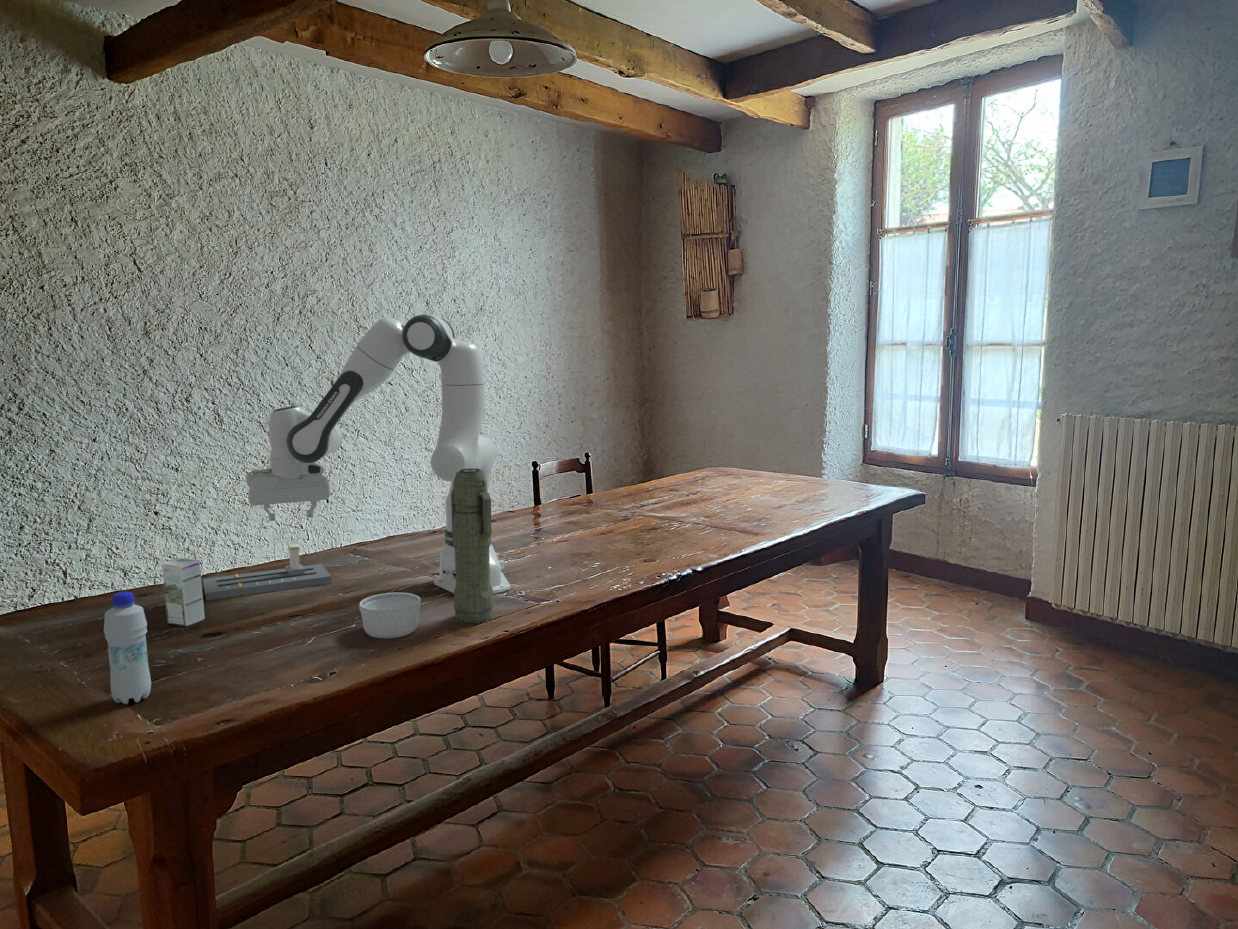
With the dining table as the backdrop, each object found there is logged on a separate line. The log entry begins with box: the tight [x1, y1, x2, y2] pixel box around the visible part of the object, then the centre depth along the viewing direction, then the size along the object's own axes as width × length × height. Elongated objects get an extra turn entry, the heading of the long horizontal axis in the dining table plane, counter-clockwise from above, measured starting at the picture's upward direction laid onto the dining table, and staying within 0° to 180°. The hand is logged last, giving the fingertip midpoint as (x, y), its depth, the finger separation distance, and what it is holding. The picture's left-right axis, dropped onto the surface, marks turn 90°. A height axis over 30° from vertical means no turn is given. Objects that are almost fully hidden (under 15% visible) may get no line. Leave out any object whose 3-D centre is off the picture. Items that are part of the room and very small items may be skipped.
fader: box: [285, 543, 305, 576], centre depth 222 cm, size 5×4×8 cm
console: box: [202, 563, 332, 601], centre depth 219 cm, size 14×30×2 cm, turn 119°
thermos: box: [451, 468, 494, 624], centre depth 191 cm, size 9×12×35 cm
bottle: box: [103, 591, 152, 705], centre depth 148 cm, size 7×7×20 cm
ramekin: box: [358, 592, 422, 639], centre depth 185 cm, size 13×13×7 cm
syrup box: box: [161, 557, 206, 627], centre depth 190 cm, size 6×6×14 cm
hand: (291, 518), depth 220 cm, fingers open, 8 cm apart
